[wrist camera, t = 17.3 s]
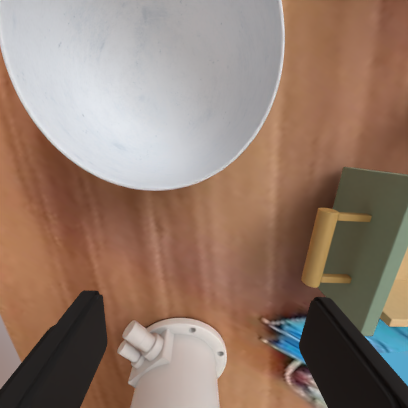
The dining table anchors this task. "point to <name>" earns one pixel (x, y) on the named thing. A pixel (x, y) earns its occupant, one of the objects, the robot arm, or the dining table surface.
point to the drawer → (363, 249)
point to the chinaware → (146, 81)
